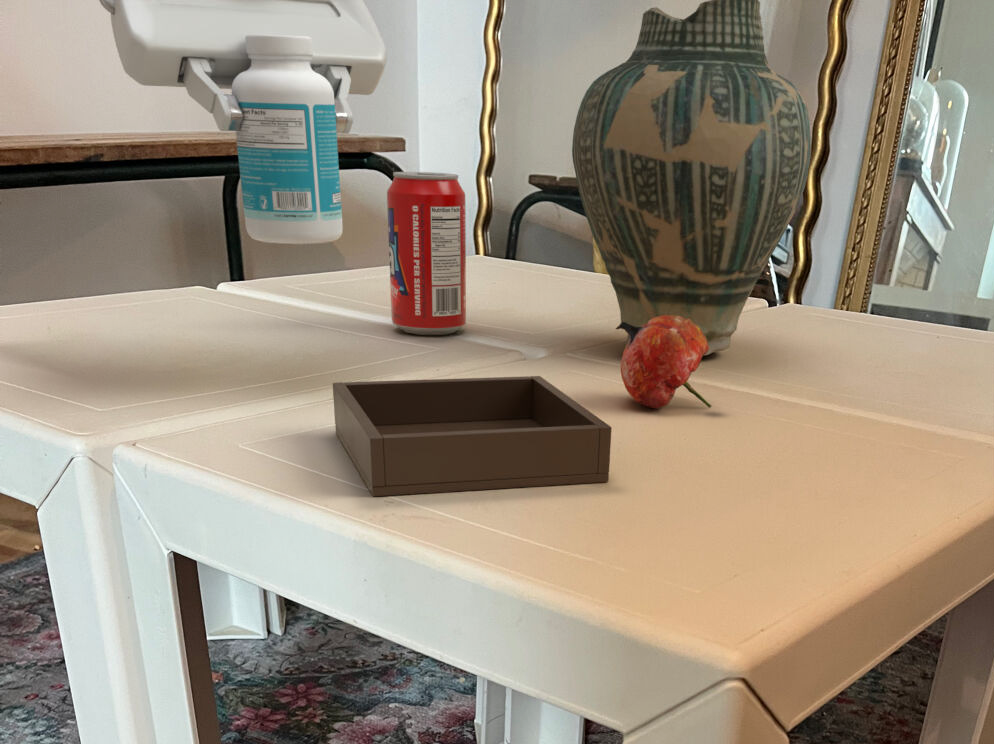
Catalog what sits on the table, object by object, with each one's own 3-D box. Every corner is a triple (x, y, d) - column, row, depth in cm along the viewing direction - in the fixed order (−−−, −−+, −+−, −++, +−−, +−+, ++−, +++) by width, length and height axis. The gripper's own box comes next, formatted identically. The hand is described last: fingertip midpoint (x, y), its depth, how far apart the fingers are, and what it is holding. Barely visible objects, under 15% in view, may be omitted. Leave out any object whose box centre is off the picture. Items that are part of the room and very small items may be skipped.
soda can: (446, 340, 115) (444, 176, 108) (378, 332, 117) (371, 172, 110) (477, 328, 122) (477, 173, 114) (412, 321, 124) (408, 169, 116)
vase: (827, 371, 108) (882, -2, 93) (614, 380, 101) (637, -21, 86) (722, 330, 126) (754, 12, 111) (535, 336, 119) (542, -3, 104)
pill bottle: (308, 233, 92) (295, 39, 85) (362, 243, 88) (352, 38, 81) (227, 237, 88) (206, 32, 81) (279, 247, 83) (261, 31, 76)
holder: (372, 496, 69) (369, 438, 68) (335, 432, 82) (332, 382, 80) (608, 482, 74) (611, 427, 72) (538, 423, 87) (540, 375, 85)
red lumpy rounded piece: (691, 422, 98) (606, 342, 96) (749, 360, 93) (661, 275, 92) (673, 452, 92) (581, 368, 90) (733, 387, 88) (638, 298, 86)
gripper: (87, -82, 77) (156, 85, 75) (355, -51, 88) (422, 96, 86) (79, -2, 82) (144, 157, 80) (333, 19, 93) (395, 159, 91)
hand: (289, 126), depth 83 cm, fingers closed on pill bottle, 7 cm apart
